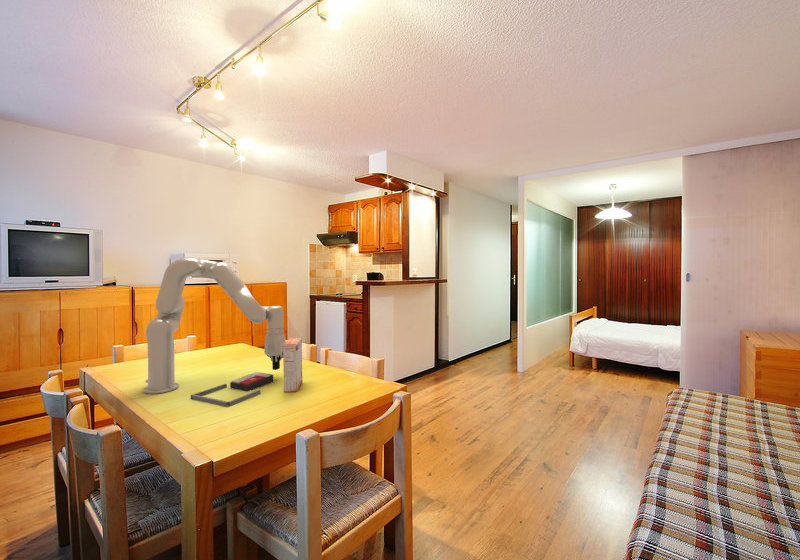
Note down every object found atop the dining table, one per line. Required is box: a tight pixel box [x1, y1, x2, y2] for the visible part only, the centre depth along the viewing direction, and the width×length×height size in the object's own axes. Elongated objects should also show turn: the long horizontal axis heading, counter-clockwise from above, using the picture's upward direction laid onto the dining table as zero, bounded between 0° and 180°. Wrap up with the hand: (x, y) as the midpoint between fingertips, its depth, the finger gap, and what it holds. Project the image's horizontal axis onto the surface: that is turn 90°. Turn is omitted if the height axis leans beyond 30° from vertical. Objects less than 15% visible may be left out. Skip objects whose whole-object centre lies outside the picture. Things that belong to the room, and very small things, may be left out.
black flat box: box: [229, 371, 275, 392], centre depth 157 cm, size 11×4×15 cm
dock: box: [190, 383, 262, 408], centre depth 142 cm, size 21×16×2 cm
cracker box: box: [282, 337, 303, 393], centre depth 154 cm, size 14×6×21 cm, turn 6°
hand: (276, 369), depth 167 cm, fingers closed
